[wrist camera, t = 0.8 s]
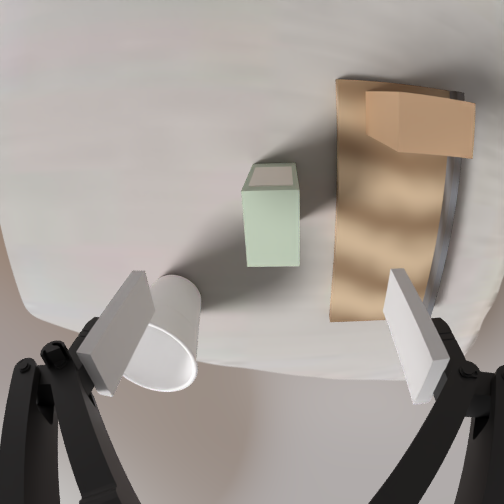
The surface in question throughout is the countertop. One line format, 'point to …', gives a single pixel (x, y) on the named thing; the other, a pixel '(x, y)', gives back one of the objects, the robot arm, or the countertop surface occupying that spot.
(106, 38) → the countertop surface
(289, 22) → the countertop surface
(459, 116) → the faced carton
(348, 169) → the wavy tan tray
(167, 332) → the cup
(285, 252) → the carton
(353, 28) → the countertop surface
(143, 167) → the countertop surface
